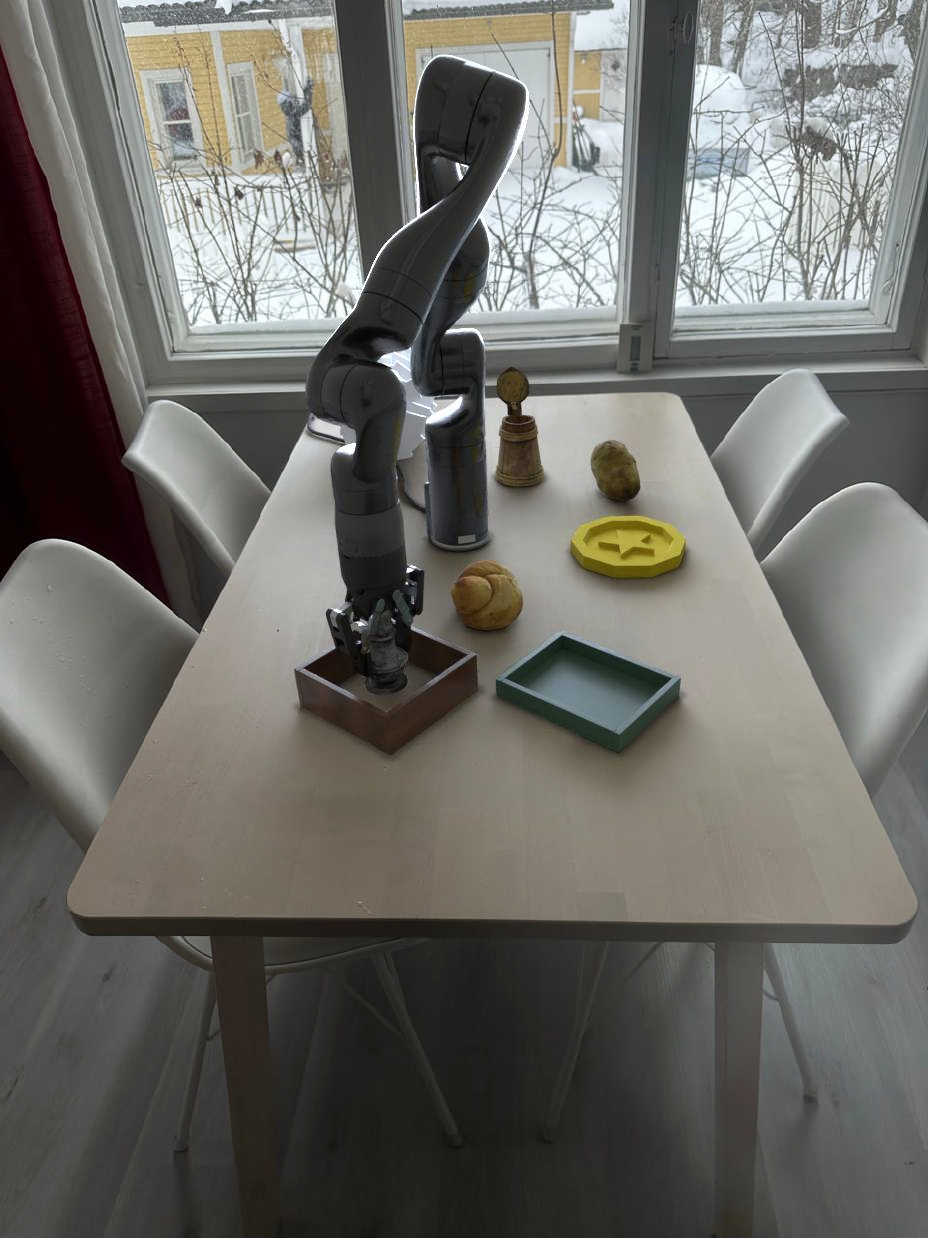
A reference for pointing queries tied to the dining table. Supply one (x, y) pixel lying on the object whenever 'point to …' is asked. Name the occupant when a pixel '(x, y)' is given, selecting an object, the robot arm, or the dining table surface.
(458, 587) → the bread roll
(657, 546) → the decorative disc
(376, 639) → the salt shaker
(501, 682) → the tray
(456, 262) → the robot arm
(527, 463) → the wooden mug
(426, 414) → the spiral staircase
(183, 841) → the dining table surface
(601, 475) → the potato
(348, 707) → the open box
